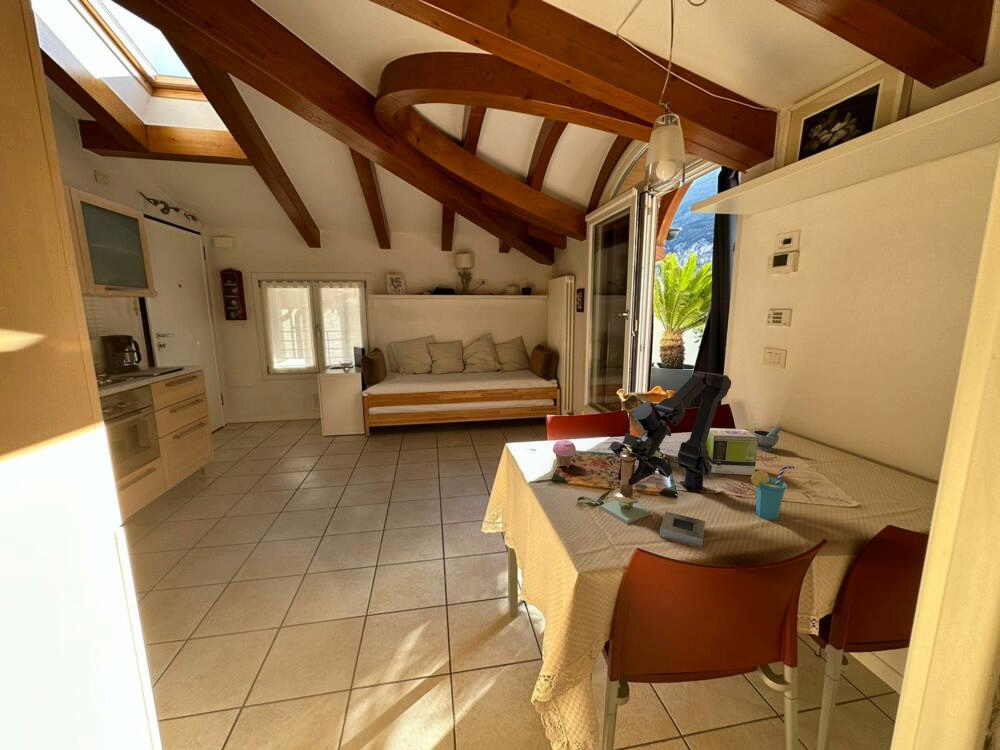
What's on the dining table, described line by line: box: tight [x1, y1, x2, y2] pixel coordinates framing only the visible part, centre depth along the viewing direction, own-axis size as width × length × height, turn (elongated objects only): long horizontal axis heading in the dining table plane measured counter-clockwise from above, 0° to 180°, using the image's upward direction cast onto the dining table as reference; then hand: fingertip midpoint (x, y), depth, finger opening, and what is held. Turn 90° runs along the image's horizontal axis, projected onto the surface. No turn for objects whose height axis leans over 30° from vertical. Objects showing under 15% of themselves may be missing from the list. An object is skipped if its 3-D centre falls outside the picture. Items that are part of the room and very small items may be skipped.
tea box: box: [706, 427, 758, 476], centre depth 150 cm, size 15×10×15 cm, turn 82°
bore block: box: [658, 511, 706, 549], centre depth 107 cm, size 10×10×3 cm
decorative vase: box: [616, 385, 677, 458], centre depth 165 cm, size 21×23×28 cm
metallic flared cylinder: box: [612, 452, 641, 509], centre depth 117 cm, size 8×8×16 cm
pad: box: [599, 499, 652, 525], centre depth 118 cm, size 10×10×2 cm
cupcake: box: [552, 439, 577, 467], centre depth 152 cm, size 9×9×10 cm
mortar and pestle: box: [751, 424, 784, 453], centre depth 171 cm, size 11×9×12 cm
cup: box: [750, 465, 795, 521], centre depth 116 cm, size 14×8×15 cm, turn 107°
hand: (623, 482), depth 116 cm, fingers closed on metallic flared cylinder, 4 cm apart
